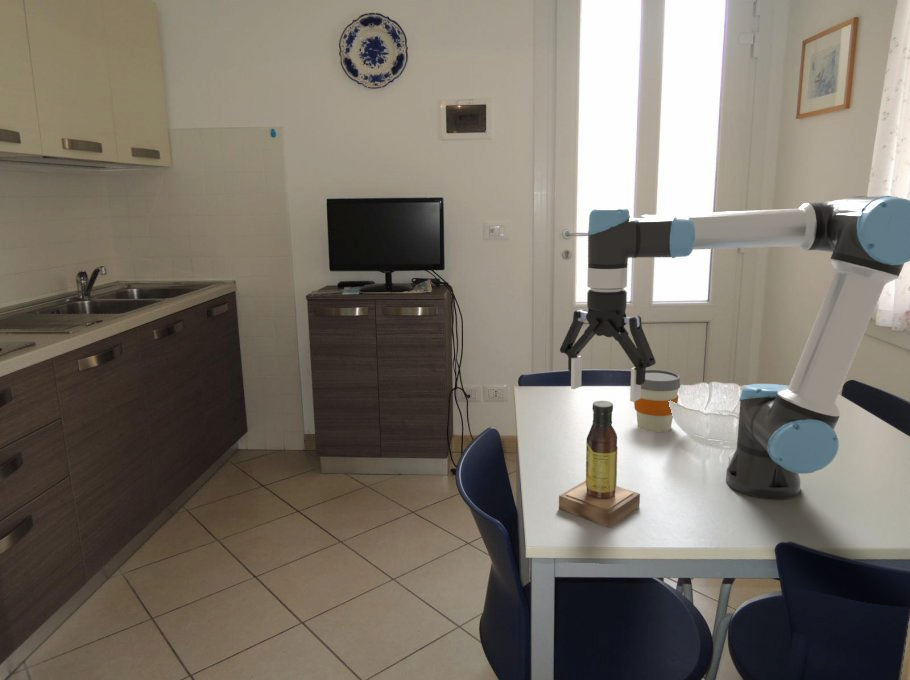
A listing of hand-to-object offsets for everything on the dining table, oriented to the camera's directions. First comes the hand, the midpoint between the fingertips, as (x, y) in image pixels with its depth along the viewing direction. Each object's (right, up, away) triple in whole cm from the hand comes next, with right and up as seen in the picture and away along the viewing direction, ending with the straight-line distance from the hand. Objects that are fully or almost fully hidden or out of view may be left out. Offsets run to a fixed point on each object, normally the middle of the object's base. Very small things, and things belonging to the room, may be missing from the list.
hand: (604, 393), depth 135 cm
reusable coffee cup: (+26, -14, +53) cm, 60 cm away
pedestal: (0, -24, +5) cm, 25 cm away
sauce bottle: (0, -21, +5) cm, 22 cm away
